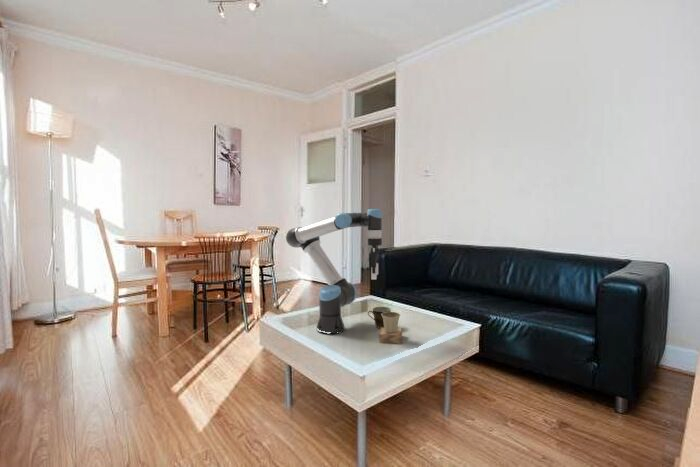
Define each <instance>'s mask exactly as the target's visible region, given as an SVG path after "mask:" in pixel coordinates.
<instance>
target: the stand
mask: <svg viewBox="0 0 700 467" xmlns="http://www.w3.org/2000/svg"><path fill="white" fill-rule="evenodd" d="M378 340H379V343H381V344H382V343H384V344H403V328H402V327H401V328H400V327H397V332H395V333H394V332H392V333H387V332H385V331H384V328H379V334H378Z"/></svg>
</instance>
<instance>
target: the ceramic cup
mask: <svg viewBox="0 0 700 467" xmlns="http://www.w3.org/2000/svg"><path fill="white" fill-rule="evenodd" d="M391 310H392V309H391V307H388V306H376V307H373V308H372V310H369V311H368V312H367V315H368V316H369V317H370V318H371V319H372V320H373V321H374V324H375V328H377V329H380V328H384V322H383V318H382V315H381V314H382V313H384V312H392V311H391ZM369 313H371V314H372V315H373V316H371V315H370V314H369ZM373 317H374V318H373Z"/></svg>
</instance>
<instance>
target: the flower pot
mask: <svg viewBox="0 0 700 467" xmlns="http://www.w3.org/2000/svg"><path fill="white" fill-rule="evenodd" d="M381 315H382V318H383V322H384V331H385V332H387V333H392V332H394V333H395V332H397V328H399V326H398V325H399V319H400V317H401V314H400V313H399V312H395V311H391V312H384V313H382V314H381Z"/></svg>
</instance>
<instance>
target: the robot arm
mask: <svg viewBox="0 0 700 467" xmlns="http://www.w3.org/2000/svg"><path fill="white" fill-rule="evenodd" d="M382 216H383V215H382V210H381V209H379V208H369V209H367V211H366V212H342V213H337V215H336V216H332V217H329V218H326V219H324V220H321V221H318V222H315V223H311V224H309V225H306V226H297V227H294V228H291V229H289V230H288V231H287V233H286V235H285V241H286V243H287V244H288V246H290V247H292V248H296V249H297V248H301V249H302V251H303V253H306V254H308V255H309V257H310V259H311V261H312V262H313V263H314V265H315V267H316V268H317V269H318V271H319V272H320V275H321V276H322V277H323V279H324V280H325V281H326V283H327V285H325V286H323V287H320V289H319V293H318V301H319V304H318V305H319V307H318V308H319V317H318V319H317V324H316V329H317V328H318V329H319V330H321V331H325V332H331V333H337V332H341V333H343V332H344V331H345V322H344V321H343V317H342V307H345V306H348V305H351V303H353V302H354V301H356V299H357V294H358V290H357V287H356V285H354V283H351V282H348V280H347V279H346V278H345V277H342V276H341V275H340V274H339V271H338V270H337V269H336V266H334V264H333V263H332V261H331V260H330V258H329V256H328V255H327V253H325V252H326V251H324V249H323V248H322V246H321V240H320V239H321V238H320V237H321V236H324V235H327V234H331V233H335V232H338V231H340V230H344V229H347V228H356V227H357V228H358V227H361V228H362V227H365V228H366V227H367V245H368V246H371V248H370V265H369V268H370V269H371V270H370V271H371V273H370V275H371V277H370V278H371V279H370V280H377V276H378V275H379V264H380V260H379V246H382V245H383V244H382V243H383V242H382V241H383V240H382V234H383V233H384V232H383V231H382V230H383V229H382V224H383V220H382V219H383V217H382ZM342 331H343V332H342ZM337 334H338V333H337Z"/></svg>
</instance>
